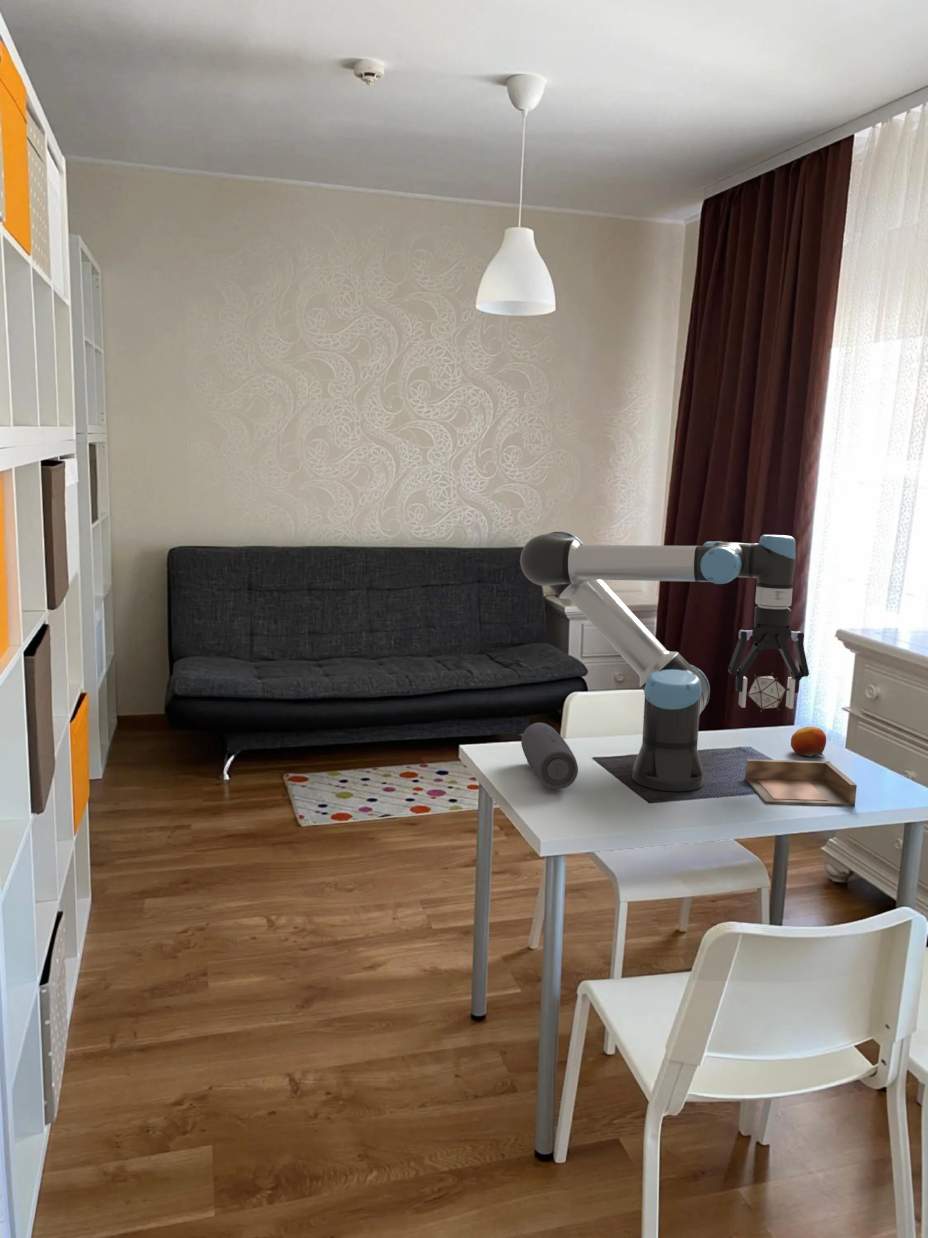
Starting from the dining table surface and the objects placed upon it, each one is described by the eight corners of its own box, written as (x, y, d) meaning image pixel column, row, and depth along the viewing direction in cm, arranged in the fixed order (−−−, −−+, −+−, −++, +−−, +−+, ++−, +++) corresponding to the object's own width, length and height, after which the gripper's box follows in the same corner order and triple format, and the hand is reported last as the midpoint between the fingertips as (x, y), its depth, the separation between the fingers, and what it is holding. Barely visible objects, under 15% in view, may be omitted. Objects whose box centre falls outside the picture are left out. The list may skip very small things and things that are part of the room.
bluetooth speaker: (580, 795, 200) (582, 748, 198) (535, 795, 199) (537, 748, 197) (558, 762, 222) (560, 720, 221) (518, 762, 221) (519, 720, 220)
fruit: (815, 757, 226) (803, 724, 229) (791, 766, 233) (781, 734, 235) (839, 753, 230) (828, 720, 232) (816, 762, 236) (805, 730, 239)
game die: (756, 726, 214) (730, 690, 213) (769, 706, 220) (744, 671, 219) (790, 714, 207) (763, 676, 207) (802, 694, 213) (777, 657, 213)
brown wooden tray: (765, 803, 197) (767, 782, 196) (745, 779, 213) (746, 759, 212) (854, 806, 197) (856, 785, 196) (827, 781, 213) (829, 761, 212)
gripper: (726, 607, 207) (719, 709, 210) (831, 610, 207) (822, 712, 210) (717, 602, 214) (710, 701, 218) (818, 605, 214) (810, 704, 217)
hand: (765, 706), depth 214 cm, fingers closed on game die, 10 cm apart
